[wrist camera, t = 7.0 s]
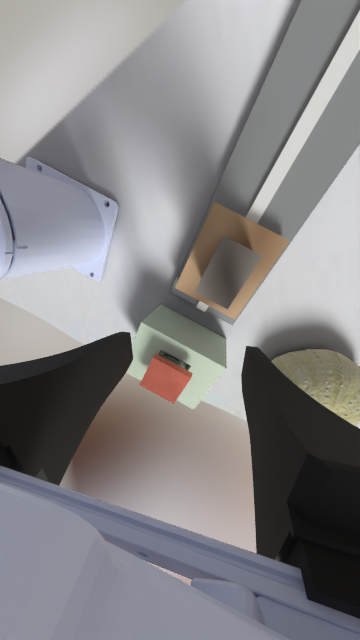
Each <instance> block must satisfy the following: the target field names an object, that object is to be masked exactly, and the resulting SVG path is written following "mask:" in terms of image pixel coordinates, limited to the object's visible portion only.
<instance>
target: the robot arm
mask: <svg viewBox="0 0 360 640" xmlns="http://www.w3.org/2000/svg"><path fill="white" fill-rule="evenodd" d="M41 167H42V171H41ZM107 202H109V207H107ZM118 209H119V206H118V204H117V202H116V201H114V200H112V199H110V198H108V197H106V196H104V195H102V194H101V193H99V192H97V191H95V190H93V189H91V188H89V187H87V186H85V185H83V184H81V183H80V182H78V181H76V180H74V179H72V178H70V177H68V176H66V175H64V174H62V173H61V172H59V171H57V170H55V169H53V168H51V167H49V166H47V165H45V164H43V163H41V162H40V161H38V160H36V159H34V158H32V157H27V158H26V164H25V167H22V166H19V165H17V164H14V163H11V162H9V161H6V160H3V159H1V158H0V280H2V279H8V278H14V277H20V276H26V275H32V274H38V273H44V272H50V271H56V270H62V269H68V268H73V269H74V270H76V271H78V272H80V273H82V274H84V275H86V276H87V277H89V278H91V279H93V280H95V281H100V280H101V279H102V275H103V271H104V267H105V263H106V259H107V255H108V251H109V247H110V242H111V238H112V234H113V230H114V226H115V222H116V218H117V214H118ZM92 272H93V274H94V276H93V275H92ZM132 361H133V352H132V344H131V336H130V333H128V332H119V333H115V334H113V335H110V336H107V337H105V338H102V339H100V340H97V341H95V342H92V343H89V344H87V345H84V346H81V347H78V348H76V349H73V350H70V351H67V352H63V353H60V354H56V355H53V356H49V357H44V358H40V359H36V360H31V361H26V362H21V363H16V364H10V365H3V366H0V640H360V429H359V428H358V427H356V426H354V425H353V424H351V423H349V422H348V421H346V420H344V419H343V418H341V417H340V416H338V415H337V414H335V413H334V412H332V411H331V410H329V409H328V408H326V407H325V406H323V405H322V404H320V403H319V402H317V401H316V400H315V399H313V398H312V397H311V396H309V395H308V394H307V393H306V392H304V391H303V390H302V389H300V388H299V387H298V386H297V385H295V384H294V383H293V382H292V381H291V380H290V379H289V378H288V377H286V376H285V375H284V374H283V373H282V372H281V371H280V370H279V369H278V368H277V367H276V366H275V365H274V364H273V363H272V362H271V361H270V360H269V359H268V358H267V357H266V356H265V354H264V353H263V352H262V351H261V350H260V349H259V348H258V347H250V346H246V351H245V357H244V363H243V369H242V375H241V376H242V393H243V399H244V405H245V410H246V416H247V422H248V427H249V434H250V443H251V456H252V470H253V486H254V504H255V522H256V523H255V525H256V548H257V554H256V553H253V552H250V551H247V550H244V549H241V548H238V547H236V546H233V545H230V544H227V543H224V542H221V541H218V540H215V539H212V538H209V537H206V536H204V535H201V534H198V533H195V532H192V531H189V530H186V529H183V528H180V527H177V526H175V525H172V524H169V523H166V522H163V521H160V520H157V519H154V518H151V517H148V516H145V515H142V514H139V513H136V512H133V511H131V510H128V509H125V508H122V507H119V506H116V505H113V504H110V503H108V502H105V501H102V500H99V499H96V498H93V497H90V496H87V495H84V494H81V493H78V492H76V491H73V490H70V489H67V488H64V487H61V486H59V484H60V482H61V480H62V478H63V476H64V474H65V472H66V470H67V468H68V466H69V464H70V461H71V459H72V458H73V456H74V454H75V452H76V450H77V448H78V446H79V444H80V442H81V440H82V438H83V437H84V435H85V433H86V431H87V430H88V428H89V426H90V424H91V422H92V421H93V419H94V417H95V416H96V414H97V412H98V411H99V409H100V407H101V406H102V405H103V403H104V402H105V400H106V399H107V397H108V396H109V395H110V393H111V392H112V391H113V389H114V388H115V386H116V385H117V384H118V383H119V381H120V380H121V379H122V377H123V376H124V374H125V373H126V372H127V370H128V368H129V366H130V365H131V363H132ZM144 560H145V561H147V562H150V563H152V564H155V565H157V566H160V567H162V568H165V569H167V570H170V571H172V572H174V573H177V574H180V575H182V576H184V577H187V578H189V579H192V581H191V586H190V585H188V584H187V583H185V582H183V581H181V580H179V579H177V578H175V577H173V576H171V575H170V574H168V573H166V572H164V571H162V570H160V569H159V568H157V567H155V566H153V565H151V564H149V563H147V562H145V561H144Z"/></svg>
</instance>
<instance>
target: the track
mask: <svg viewBox="0 0 360 640" xmlns="http://www.w3.org/2000/svg"><path fill="white" fill-rule="evenodd" d="M359 144H360V0H301V2H300V4H299V6H298V8H297V11H296V13H295V15H294V17H293V20H292V22H291V24H290V26H289V28H288V31H287V33H286V35H285V37H284V40H283V42H282V44H281V46H280V48H279V51H278V53H277V55H276V57H275V60H274V62H273V64H272V66H271V68H270V71H269V73H268V75H267V77H266V80H265V82H264V84H263V86H262V88H261V91H260V93H259V95H258V97H257V100H256V102H255V104H254V106H253V108H252V111H251V113H250V115H249V117H248V119H247V122H246V124H245V126H244V128H243V131H242V133H241V135H240V137H239V139H238V142H237V144H236V146H235V148H234V151H233V153H232V155H231V157H230V159H229V162H228V164H227V166H226V168H225V171H224V173H223V175H222V177H221V179H220V182H219V184H218V186H217V188H216V191H215V193H214V195H213V197H212V199H211V202H210V204H209V206H208V208H207V211H206V213H205V215H204V217H203V219H202V222H201V224H200V226H199V228H198V231H197V233H196V235H195V237H194V239H193V242H192V244H191V246H190V248H189V251H188V253H187V255H186V257H185V259H184V262H183V264H182V266H181V268H180V271H179V273H178V275H177V277H176V279H175V282H174V284H173V286H172V288H171V290H170V292H171V293H173V294H175V295H177V296H178V297H180V298H182V299H184V300H186V301H188V302H190V303H192V304H193V305H195V306H196V308H198V309H200V310H202V311H203V312H206V311H207V312H208V313H210V314H212V315H214V316H216V317H218V318H220V319H222V320H223V321H225V322H227V323H229V324H231V325H233V324H234V323H235V321H236V320H237V318H238V317H239V315H240V314H241V313H242V311H243V310H244V308H245V307H246V305H247V304H248V303H249V301H250V300H251V298H252V297H253V295H254V294H255V293H256V291H257V290H258V288H259V287H260V285H261V284H262V283H263V281H264V280H265V278H266V277H267V275H268V274H269V273H270V271H271V270H272V268H273V267H274V265H275V264H276V263H277V261H278V260H279V258H280V257H281V255H282V254H283V253H284V251H285V250H286V248H287V247H288V245H289V244H290V243H291V241H292V240H293V238H294V237H295V235H296V234H297V233H298V231H299V230H300V228H301V227H302V225H303V224H304V223H305V221H306V220H307V218H308V217H309V215H310V214H311V213H312V211H313V210H314V208H315V207H316V205H317V204H318V203H319V201H320V200H321V198H322V197H323V195H324V194H325V193H326V191H327V190H328V188H329V187H330V185H331V184H332V183H333V181H334V180H335V178H336V177H337V175H338V174H339V173H340V171H341V170H342V168H343V167H344V165H345V164H346V163H347V161H348V160H349V158H350V157H351V155H352V154H353V153H354V151H355V150H356V148H357V147H358V146H359ZM214 202H216V203H218V204H220V205H222V206H224V207H226V208H228V209H230V210H232V211H233V212H235V213H237V214H239V215H241V216H243V217H245V218H247V219H249V220H251V221H253V222H255V223H257V224H259V225H260V226H262V227H264V228H266V229H268V230H270V231H272V232H274V233H276V234H278V235H280V236H282V237H284V238H286V239H288V240H289V241H290V242H289V243H288V245H287V246H286V247H285V249H284V250H283V252H282V253H281V255H280V256H279V258H278V259H277V260H276V262H275V263H274V265H273V266H272V268H271V269H270V270H269V272H268V273H267V275H266V276H265V278H264V279H263V281H262V282H261V283H260V285H259V286H258V288H257V289H256V291H255V292H254V293H253V295H252V296H251V298H250V299H249V301H248V302H247V303H246V305H245V306H244V308H243V309H242V311H241V312H240V314H239V315H238V316H237V318H236V319H233V318H231V317H229V316H227V315H225V314H223V313H221V312H220V311H218V310H216V309H214V308H212V307H210V306H208V305H206V304H205V303H203V302H201V301H199V300H197V299H195V298H193V297H191V296H189V295H188V294H186V293H184V292H182V291H180V290H178V289H176V288H175V287H176V284H177V282H178V280H179V278H180V276H181V273H182V271H183V269H184V267H185V265H186V263H187V260H188V258H189V256H190V254H191V252H192V250H193V247H194V245H195V243H196V241H197V239H198V237H199V234H200V232H201V230H202V228H203V226H204V223H205V221H206V219H207V217H208V215H209V213H210V210H211V208H212V206H213V204H214Z"/></svg>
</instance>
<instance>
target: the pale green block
mask: <svg viewBox="0 0 360 640" xmlns="http://www.w3.org/2000/svg"><path fill="white" fill-rule="evenodd" d="M132 352H133V361H132V363H131V365H130V366H129V368H128V370H127V372H126V373H128V374H130V375H131V376H133V377H135V378H137V379H139V380H141V381H142V379H143V377H144V374H145V372H146V370H147V368H148V366H149V364H150V362H151V360H152V358H153V357H154V355H155V353H156V354H158V355H160V356H163V355H164V353H165V352H166V353H168V354H170V355H172V356H174V357H176V358H177V359H179V360H181V361H183V362H185V363H186V367H185V369H186V370H188V371H189V372H191V373H192V377H191V379H190V381H189V382H188V384H187V385H186V387H185V388H184V390H183V391H182V392H181V394H180V395H179V397H178V398H177V401H179V402H181V403H183V404H184V405H186V406H188V407H190V408H192V409H194V408H195V407H196V406H197V405H198V403H199V402H200V401H201V400H202V398H203V397H204V396H205V395H206V393H207V392H208V391H209V389H210V388H211V387H212V386H213V384H214V383H215V382H216V381H217V379H218V378H219V377H220V376H221V374H222V373H223V372H224V370H225V369H226V339H225V338H223V337H222V336H220V335H218V334H216V333H214V332H212V331H210V330H209V329H207V328H205V327H203V326H201V325H199V324H197V323H195V322H194V321H192V320H190V319H188V318H186V317H184V316H182V315H181V314H179V313H177V312H175V311H173V310H171V309H169V308H167V307H166V306H164V305H162V304H160V305H159V306H158V307H157V308H156V309H155V310H154V311H153V312H152V313H150V314H149V315H148V316H147V317H146V318H145V319H144V320H143V321H142V322H141V324H140V326H139V329H138V331H137V334H136V336H135V339H134V341H133V344H132Z"/></svg>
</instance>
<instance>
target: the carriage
mask: <svg viewBox="0 0 360 640" xmlns="http://www.w3.org/2000/svg"><path fill="white" fill-rule="evenodd" d="M289 242H290V241H289V240H288V239H286V238H284V237H282V236H280V235H278V234H276V233H274V232H272V231H270V230H268V229H266V228H264V227H262V226H260V225H259V224H257V223H255V222H253V221H251V220H249V219H247V218H245V217H243V216H241V215H239V214H237V213H235V212H233V211H232V210H230V209H228V208H226V207H224V206H222V205H220V204H218V203H216V202H214V204H213V206H212V208H211V210H210V213H209V215H208V217H207V219H206V221H205V223H204V226H203V228H202V230H201V232H200V234H199V237H198V239H197V241H196V243H195V245H194V247H193V250H192V252H191V254H190V256H189V258H188V260H187V263H186V265H185V267H184V269H183V271H182V273H181V276H180V278H179V280H178V282H177V284H176V287H175V288H176V289H178V290H180V291H182V292H184V293H186V294H188V295H189V296H191V297H193V298H195V299H197V300H199V301H201V302H203V303H205V304H206V305H208V306H210V307H212V308H214V309H216V310H218V311H220V312H221V313H223V314H225V315H227V316H229V317H231V318H233V319H236V318H237V316H238V315H239V314H240V312H241V311H242V309H243V308H244V306H245V305H246V303H247V302H248V301H249V299H250V298H251V296H252V295H253V293H254V292H255V291H256V289H257V288H258V286H259V285H260V283H261V282H262V281H263V279H264V278H265V276H266V275H267V273H268V272H269V270H270V269H271V268H272V266H273V265H274V263H275V262H276V260H277V259H278V258H279V256H280V255H281V253H282V252H283V250H284V249H285V247H286V246H287V245H288V243H289Z"/></svg>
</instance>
